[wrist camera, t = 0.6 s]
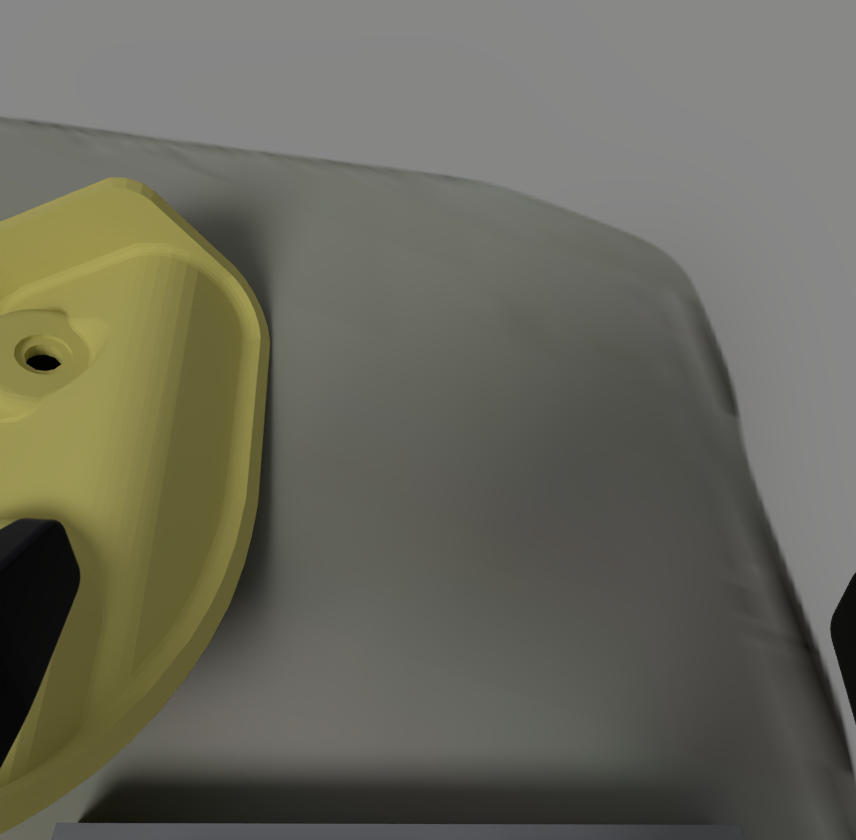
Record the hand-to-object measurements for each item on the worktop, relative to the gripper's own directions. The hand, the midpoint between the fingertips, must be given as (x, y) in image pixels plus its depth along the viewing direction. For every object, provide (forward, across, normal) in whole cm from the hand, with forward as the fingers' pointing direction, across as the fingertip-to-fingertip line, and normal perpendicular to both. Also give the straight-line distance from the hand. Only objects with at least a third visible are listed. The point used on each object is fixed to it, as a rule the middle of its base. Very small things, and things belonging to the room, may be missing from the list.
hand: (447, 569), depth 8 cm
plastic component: (+11, +13, +10) cm, 20 cm away
